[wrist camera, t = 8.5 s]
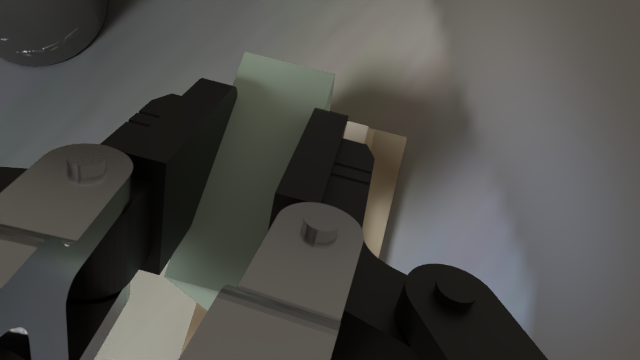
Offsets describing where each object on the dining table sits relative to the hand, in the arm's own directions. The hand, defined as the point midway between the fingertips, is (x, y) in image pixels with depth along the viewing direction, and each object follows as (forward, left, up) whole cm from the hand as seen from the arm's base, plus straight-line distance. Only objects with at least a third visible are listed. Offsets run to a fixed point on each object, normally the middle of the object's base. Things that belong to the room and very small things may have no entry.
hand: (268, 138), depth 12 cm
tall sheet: (+2, -1, -13) cm, 13 cm away
